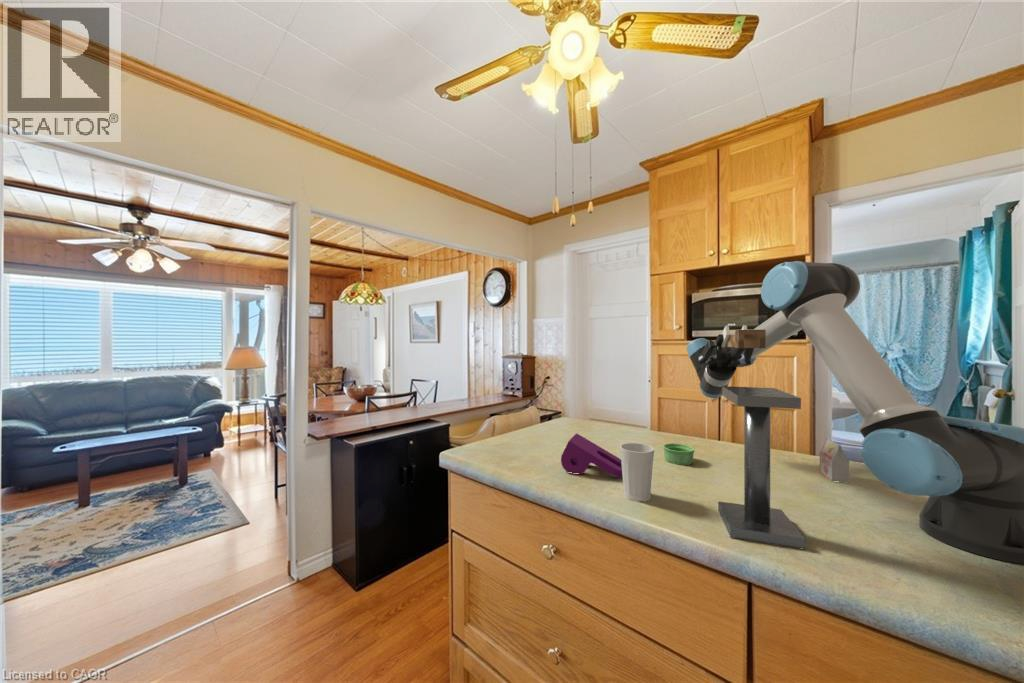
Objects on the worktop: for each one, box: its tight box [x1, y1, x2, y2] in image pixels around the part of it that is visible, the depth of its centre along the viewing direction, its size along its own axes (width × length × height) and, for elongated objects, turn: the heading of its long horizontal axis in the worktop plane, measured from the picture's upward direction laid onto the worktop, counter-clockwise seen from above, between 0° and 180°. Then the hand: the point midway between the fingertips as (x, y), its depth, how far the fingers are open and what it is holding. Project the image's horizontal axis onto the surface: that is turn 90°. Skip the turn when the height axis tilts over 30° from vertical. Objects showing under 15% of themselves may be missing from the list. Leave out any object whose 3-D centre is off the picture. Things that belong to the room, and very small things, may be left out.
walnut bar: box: [725, 329, 766, 348], centre depth 89 cm, size 22×5×4 cm, turn 160°
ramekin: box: [663, 442, 695, 466], centre depth 115 cm, size 9×9×4 cm
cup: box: [619, 442, 655, 502], centre depth 90 cm, size 8×8×12 cm
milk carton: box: [819, 438, 850, 483], centre depth 100 cm, size 4×7×10 cm, turn 162°
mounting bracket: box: [560, 432, 623, 479], centre depth 106 cm, size 9×8×18 cm
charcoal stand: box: [717, 385, 806, 550], centre depth 74 cm, size 15×12×28 cm
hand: (736, 330), depth 91 cm, fingers closed on walnut bar, 3 cm apart
